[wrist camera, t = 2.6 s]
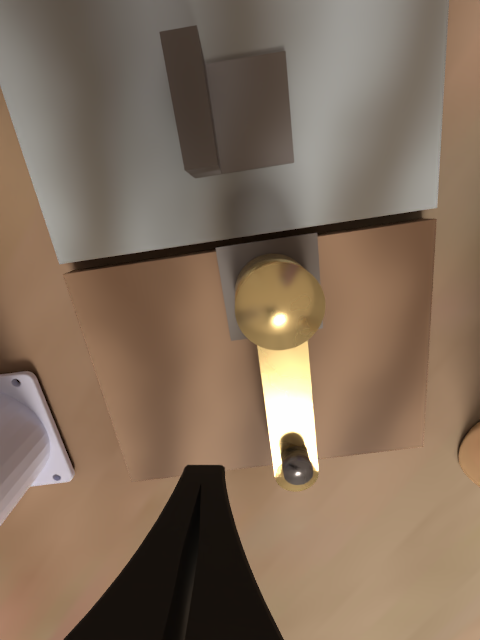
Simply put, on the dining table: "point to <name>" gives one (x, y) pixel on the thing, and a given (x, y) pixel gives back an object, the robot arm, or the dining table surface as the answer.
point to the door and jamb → (236, 204)
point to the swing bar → (284, 357)
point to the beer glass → (471, 454)
